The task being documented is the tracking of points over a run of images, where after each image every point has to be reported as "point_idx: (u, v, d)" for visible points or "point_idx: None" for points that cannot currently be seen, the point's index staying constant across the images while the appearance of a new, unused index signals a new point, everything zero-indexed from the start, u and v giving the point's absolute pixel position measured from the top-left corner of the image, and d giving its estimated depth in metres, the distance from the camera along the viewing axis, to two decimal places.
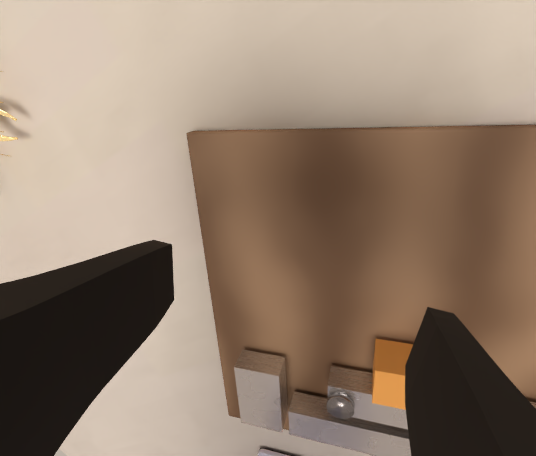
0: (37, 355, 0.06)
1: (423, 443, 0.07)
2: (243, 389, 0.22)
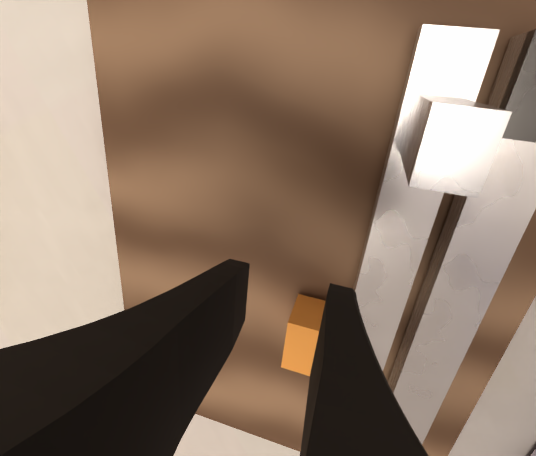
0: (152, 396, 0.06)
1: (308, 405, 0.07)
2: None
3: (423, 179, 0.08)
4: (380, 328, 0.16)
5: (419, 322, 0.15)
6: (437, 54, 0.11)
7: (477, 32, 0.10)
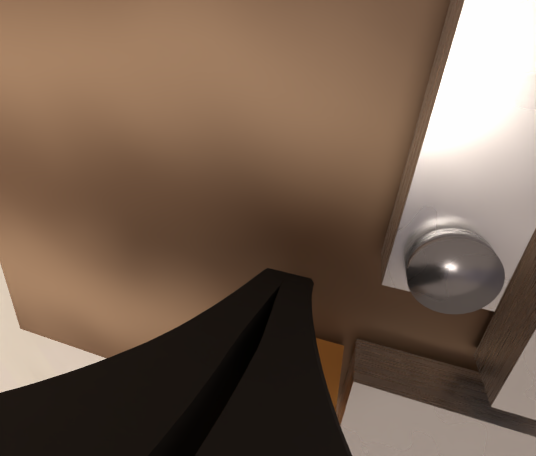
0: (212, 418, 0.05)
1: None
2: None
3: None
4: None
5: None
6: None
7: None
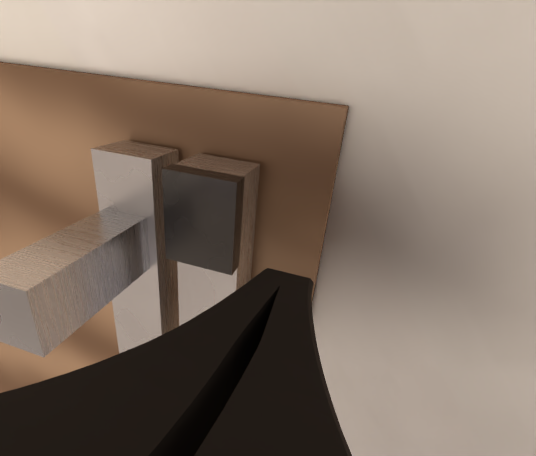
0: (212, 418, 0.05)
1: None
2: None
3: None
4: None
5: None
6: (111, 176, 0.11)
7: (134, 160, 0.10)
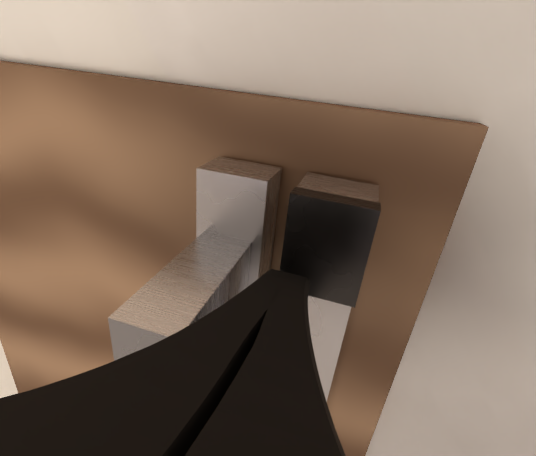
0: None
1: None
2: None
3: None
4: None
5: None
6: (216, 197, 0.10)
7: (247, 181, 0.10)
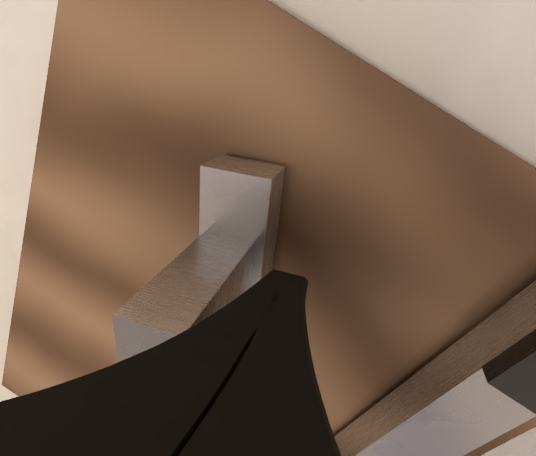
0: None
1: None
2: None
3: None
4: None
5: None
6: (219, 195, 0.10)
7: (251, 179, 0.10)
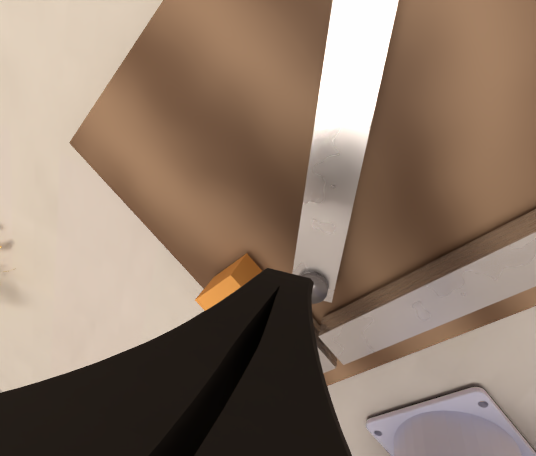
0: (212, 418, 0.05)
1: None
2: None
3: None
4: (339, 189, 0.15)
5: (493, 251, 0.14)
6: None
7: None
